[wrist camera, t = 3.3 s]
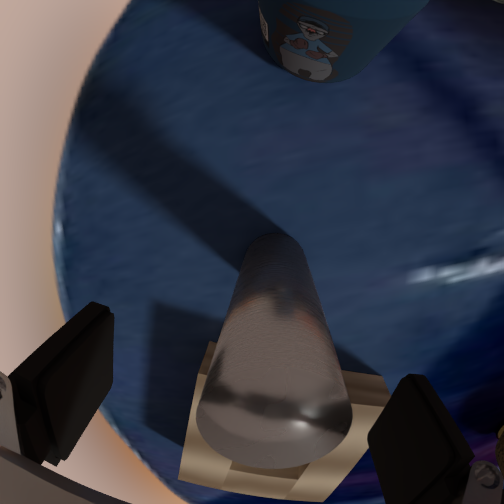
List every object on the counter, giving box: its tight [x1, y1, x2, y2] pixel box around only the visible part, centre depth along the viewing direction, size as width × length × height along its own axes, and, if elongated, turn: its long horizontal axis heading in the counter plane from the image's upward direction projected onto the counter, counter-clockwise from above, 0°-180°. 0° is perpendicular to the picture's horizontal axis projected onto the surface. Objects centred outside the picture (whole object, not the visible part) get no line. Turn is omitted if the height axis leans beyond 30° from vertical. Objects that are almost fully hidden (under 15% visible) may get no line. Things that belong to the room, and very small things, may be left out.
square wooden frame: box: [178, 341, 391, 502], centre depth 22 cm, size 14×14×4 cm
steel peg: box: [196, 233, 353, 469], centre depth 14 cm, size 4×4×14 cm
